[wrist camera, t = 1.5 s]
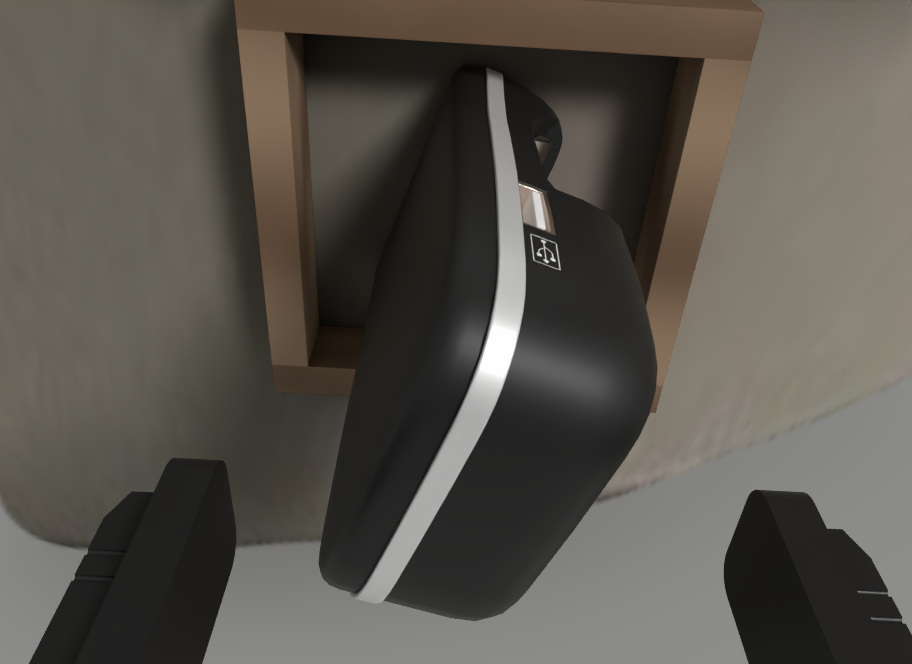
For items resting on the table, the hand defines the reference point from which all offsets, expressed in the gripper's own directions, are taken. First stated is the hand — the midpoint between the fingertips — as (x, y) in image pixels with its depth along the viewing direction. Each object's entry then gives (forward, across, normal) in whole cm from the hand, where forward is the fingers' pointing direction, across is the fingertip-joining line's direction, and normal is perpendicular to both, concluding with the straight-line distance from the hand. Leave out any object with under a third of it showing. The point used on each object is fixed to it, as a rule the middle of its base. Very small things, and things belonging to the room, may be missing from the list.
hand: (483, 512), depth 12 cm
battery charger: (+11, 0, 0) cm, 11 cm away
